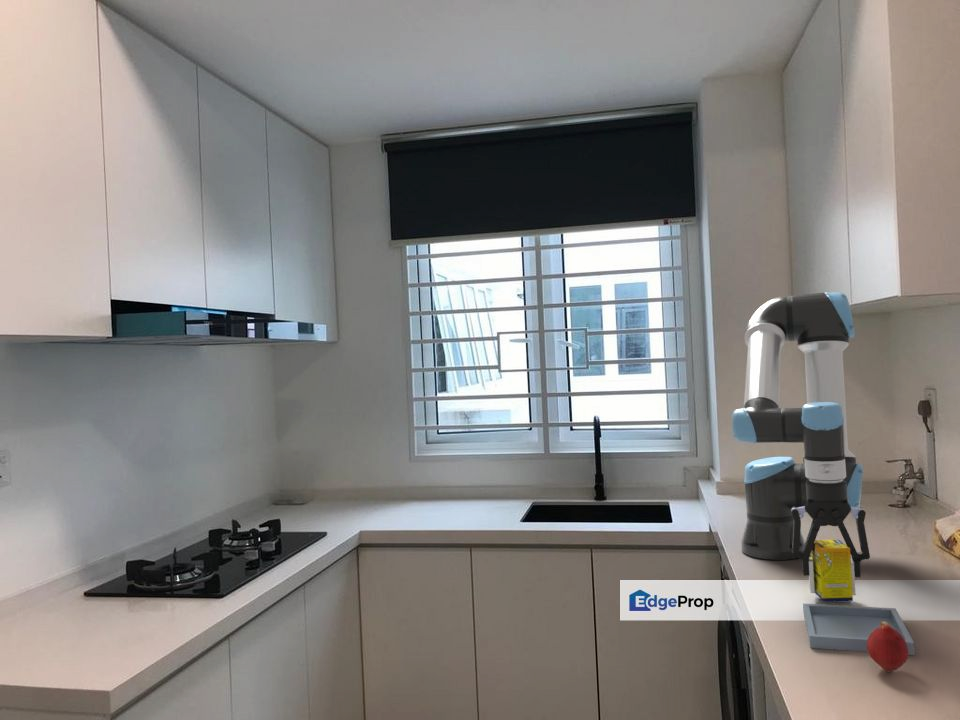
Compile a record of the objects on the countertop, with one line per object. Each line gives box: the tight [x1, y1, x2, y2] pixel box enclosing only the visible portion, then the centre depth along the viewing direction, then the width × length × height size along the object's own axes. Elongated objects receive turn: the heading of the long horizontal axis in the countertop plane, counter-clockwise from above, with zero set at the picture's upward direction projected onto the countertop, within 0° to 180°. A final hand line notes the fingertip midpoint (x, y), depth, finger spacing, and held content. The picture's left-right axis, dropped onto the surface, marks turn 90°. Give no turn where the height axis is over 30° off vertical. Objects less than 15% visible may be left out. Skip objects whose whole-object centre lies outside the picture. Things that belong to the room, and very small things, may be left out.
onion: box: [866, 622, 909, 673], centre depth 118 cm, size 6×6×8 cm
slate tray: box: [802, 603, 916, 656], centre depth 133 cm, size 16×16×2 cm
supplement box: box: [810, 538, 854, 603], centre depth 149 cm, size 6×6×11 cm
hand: (832, 591), depth 149 cm, fingers closed on supplement box, 7 cm apart
